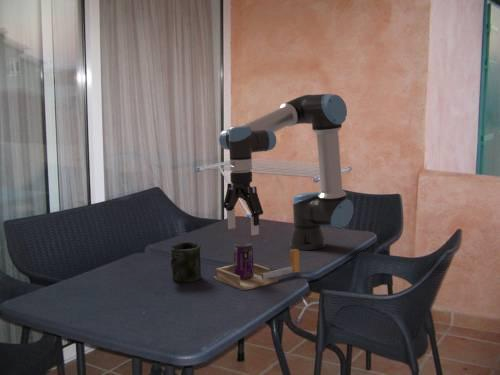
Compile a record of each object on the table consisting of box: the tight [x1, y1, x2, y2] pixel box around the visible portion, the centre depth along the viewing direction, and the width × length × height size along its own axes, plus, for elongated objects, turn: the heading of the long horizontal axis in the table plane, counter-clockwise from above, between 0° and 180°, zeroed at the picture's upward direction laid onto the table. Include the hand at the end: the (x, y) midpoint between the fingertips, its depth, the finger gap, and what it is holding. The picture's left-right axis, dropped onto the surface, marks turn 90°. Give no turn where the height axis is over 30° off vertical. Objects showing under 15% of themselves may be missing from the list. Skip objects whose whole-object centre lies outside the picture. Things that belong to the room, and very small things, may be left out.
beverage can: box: [232, 241, 255, 279], centre depth 212 cm, size 7×7×12 cm
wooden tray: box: [213, 263, 279, 291], centre depth 212 cm, size 15×18×4 cm
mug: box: [169, 241, 202, 283], centre depth 214 cm, size 11×15×12 cm
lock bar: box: [262, 248, 300, 280], centre depth 213 cm, size 16×2×8 cm, turn 127°
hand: (243, 231), depth 211 cm, fingers open, 13 cm apart
